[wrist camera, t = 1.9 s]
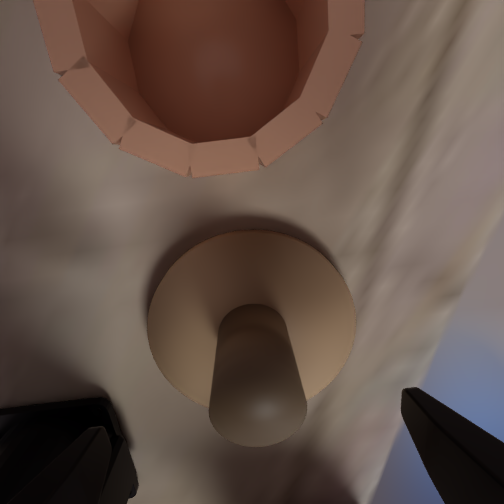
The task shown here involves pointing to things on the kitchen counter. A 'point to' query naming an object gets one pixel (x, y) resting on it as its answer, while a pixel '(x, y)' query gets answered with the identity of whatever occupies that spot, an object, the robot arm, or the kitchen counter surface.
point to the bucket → (203, 74)
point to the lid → (252, 331)
